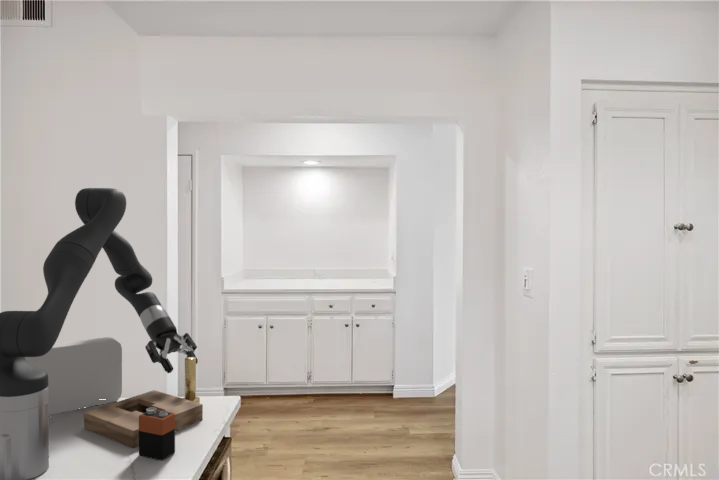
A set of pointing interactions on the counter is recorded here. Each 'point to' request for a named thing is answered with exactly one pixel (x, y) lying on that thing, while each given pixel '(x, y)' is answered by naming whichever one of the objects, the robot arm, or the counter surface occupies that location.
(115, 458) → the counter surface
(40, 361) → the grey rounded panel
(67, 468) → the counter surface
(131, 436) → the walnut keyhole plate
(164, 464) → the counter surface
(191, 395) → the brass peg
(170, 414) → the battery
